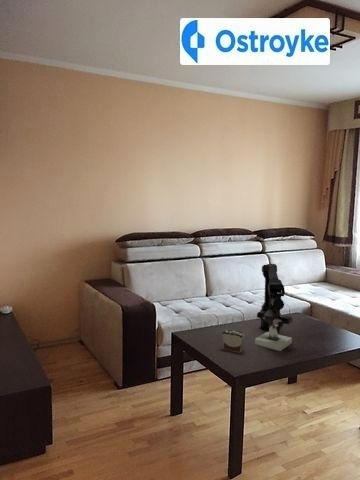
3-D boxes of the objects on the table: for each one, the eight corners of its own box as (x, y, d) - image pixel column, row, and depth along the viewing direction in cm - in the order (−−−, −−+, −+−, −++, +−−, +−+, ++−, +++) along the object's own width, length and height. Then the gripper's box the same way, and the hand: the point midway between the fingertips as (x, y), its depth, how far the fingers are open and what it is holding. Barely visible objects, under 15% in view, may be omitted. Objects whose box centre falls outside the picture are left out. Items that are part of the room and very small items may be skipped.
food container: (247, 349, 209) (247, 331, 208) (242, 353, 204) (243, 334, 203) (225, 344, 215) (226, 327, 214) (221, 348, 210) (221, 330, 209)
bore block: (254, 344, 217) (254, 338, 217) (267, 336, 229) (267, 331, 228) (280, 351, 208) (280, 345, 207) (291, 343, 219) (292, 337, 219)
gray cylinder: (267, 339, 217) (267, 325, 217) (271, 337, 221) (271, 323, 220) (275, 341, 214) (276, 327, 213) (279, 339, 218) (280, 325, 217)
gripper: (252, 304, 215) (251, 332, 217) (285, 311, 204) (283, 340, 205) (262, 300, 224) (261, 327, 226) (293, 306, 212) (292, 334, 214)
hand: (273, 332), depth 217 cm, fingers closed on gray cylinder, 5 cm apart
